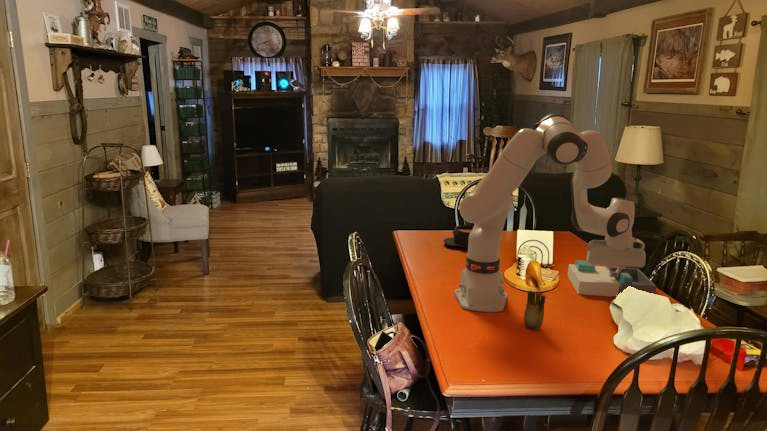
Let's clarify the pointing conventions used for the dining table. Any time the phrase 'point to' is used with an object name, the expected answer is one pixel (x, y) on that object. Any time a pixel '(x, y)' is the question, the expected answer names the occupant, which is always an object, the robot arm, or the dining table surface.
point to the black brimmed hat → (460, 236)
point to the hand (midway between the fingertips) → (613, 276)
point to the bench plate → (593, 281)
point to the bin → (636, 280)
